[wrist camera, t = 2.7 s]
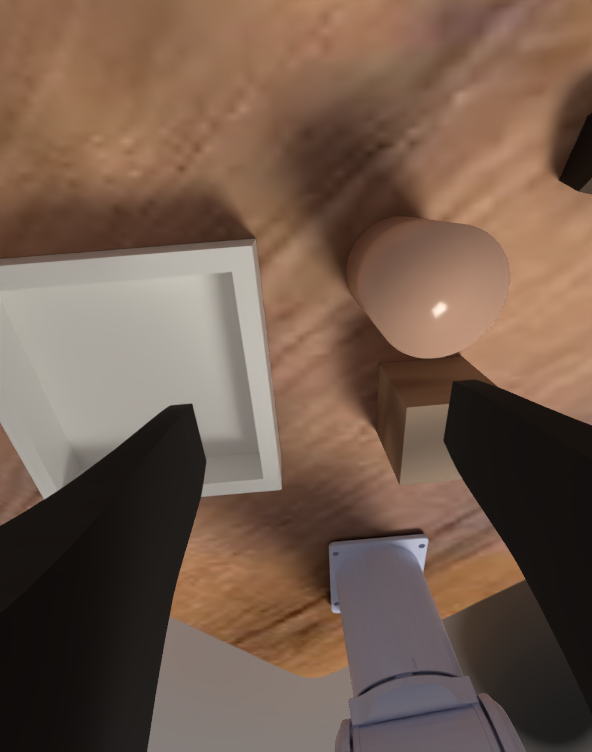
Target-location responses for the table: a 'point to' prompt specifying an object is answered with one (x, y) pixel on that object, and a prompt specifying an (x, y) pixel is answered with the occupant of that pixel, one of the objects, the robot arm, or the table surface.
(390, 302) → the beige rounded cylinder
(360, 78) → the table surface
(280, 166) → the table surface
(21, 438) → the off-white tray
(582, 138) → the pan flute
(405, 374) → the walnut cube
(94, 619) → the robot arm
